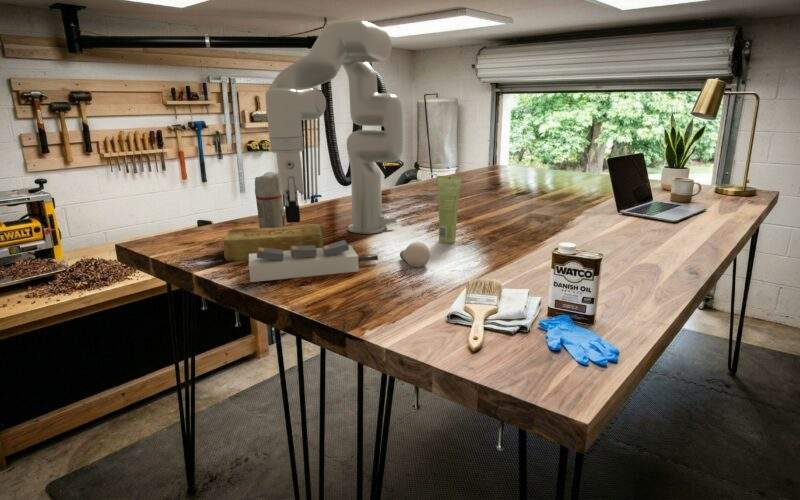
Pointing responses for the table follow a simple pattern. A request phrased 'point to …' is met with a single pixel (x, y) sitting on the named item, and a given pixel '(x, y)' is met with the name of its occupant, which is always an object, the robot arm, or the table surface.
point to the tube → (448, 206)
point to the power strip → (304, 265)
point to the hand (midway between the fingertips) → (293, 221)
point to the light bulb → (416, 254)
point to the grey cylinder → (269, 201)
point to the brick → (269, 240)
